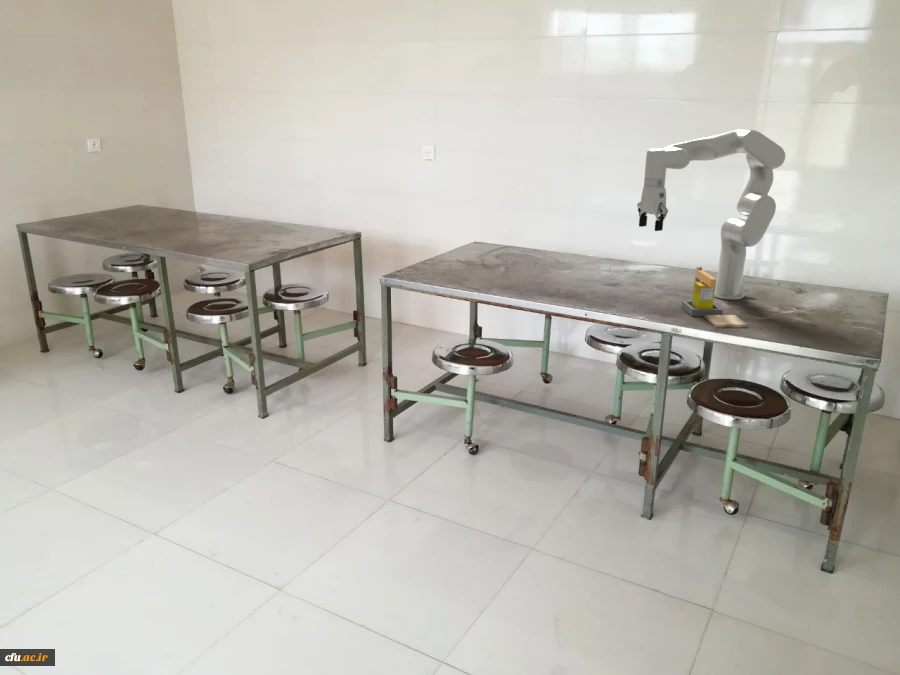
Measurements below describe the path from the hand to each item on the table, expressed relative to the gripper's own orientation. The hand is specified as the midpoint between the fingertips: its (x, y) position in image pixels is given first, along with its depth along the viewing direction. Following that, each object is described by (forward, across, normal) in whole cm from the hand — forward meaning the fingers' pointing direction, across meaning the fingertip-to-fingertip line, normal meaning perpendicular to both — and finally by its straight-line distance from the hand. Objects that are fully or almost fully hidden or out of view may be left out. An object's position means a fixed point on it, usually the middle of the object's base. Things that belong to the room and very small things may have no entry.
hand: (650, 228), depth 259 cm
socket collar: (+29, -20, -11) cm, 37 cm away
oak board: (+29, -33, -10) cm, 46 cm away
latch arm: (+29, -19, -12) cm, 37 cm away
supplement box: (+29, -20, -11) cm, 37 cm away
